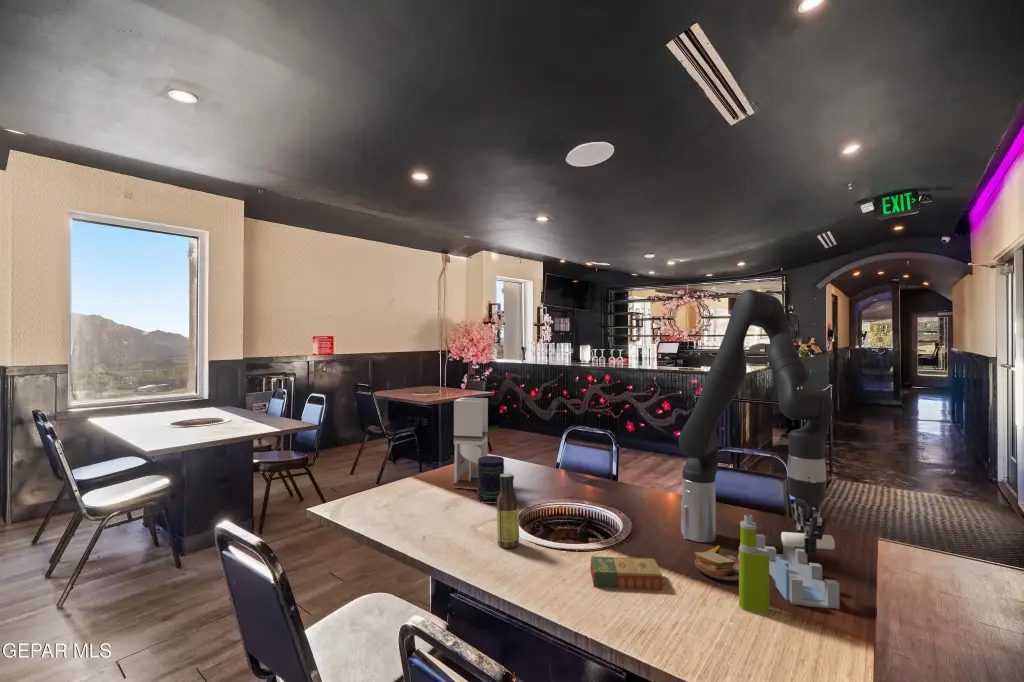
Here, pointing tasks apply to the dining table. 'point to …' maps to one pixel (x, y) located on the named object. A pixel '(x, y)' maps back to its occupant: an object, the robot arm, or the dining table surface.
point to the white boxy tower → (469, 439)
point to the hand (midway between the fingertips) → (807, 550)
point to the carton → (626, 573)
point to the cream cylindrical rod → (798, 541)
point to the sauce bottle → (507, 513)
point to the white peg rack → (800, 577)
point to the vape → (752, 570)
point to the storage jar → (489, 477)
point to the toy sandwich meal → (717, 565)
